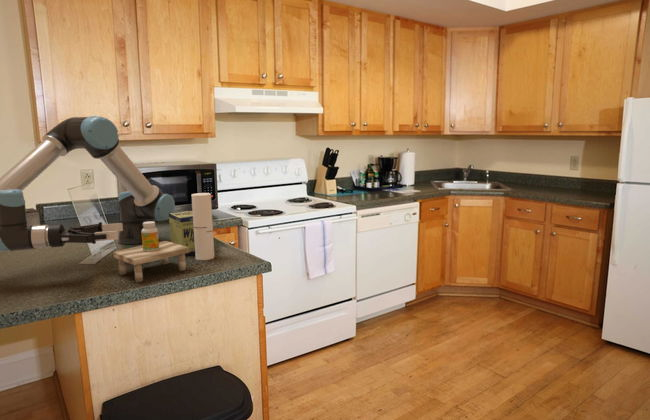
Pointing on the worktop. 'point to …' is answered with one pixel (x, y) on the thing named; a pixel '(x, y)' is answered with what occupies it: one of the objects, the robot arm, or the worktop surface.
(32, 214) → the coffee box
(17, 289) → the worktop surface
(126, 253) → the light wood low table
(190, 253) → the protein box
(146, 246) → the supplement bottle
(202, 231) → the cylindrical container
